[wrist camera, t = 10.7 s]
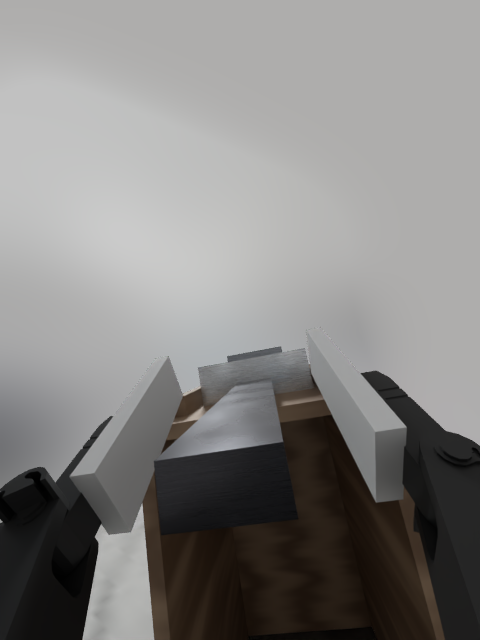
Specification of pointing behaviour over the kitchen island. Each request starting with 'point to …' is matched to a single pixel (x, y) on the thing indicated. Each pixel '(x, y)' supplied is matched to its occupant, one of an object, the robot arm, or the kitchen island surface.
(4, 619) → the robot arm
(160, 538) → the stand
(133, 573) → the kitchen island surface
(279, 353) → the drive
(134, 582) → the kitchen island surface
